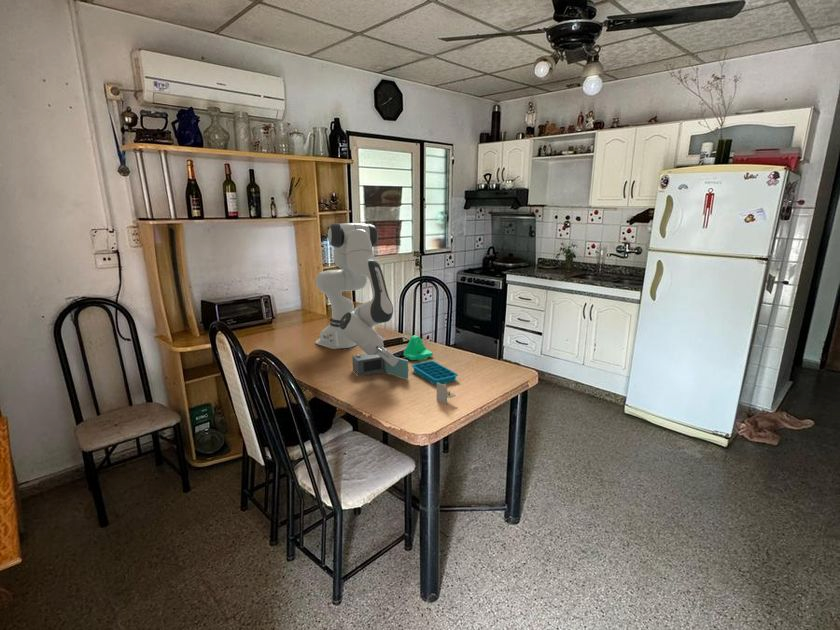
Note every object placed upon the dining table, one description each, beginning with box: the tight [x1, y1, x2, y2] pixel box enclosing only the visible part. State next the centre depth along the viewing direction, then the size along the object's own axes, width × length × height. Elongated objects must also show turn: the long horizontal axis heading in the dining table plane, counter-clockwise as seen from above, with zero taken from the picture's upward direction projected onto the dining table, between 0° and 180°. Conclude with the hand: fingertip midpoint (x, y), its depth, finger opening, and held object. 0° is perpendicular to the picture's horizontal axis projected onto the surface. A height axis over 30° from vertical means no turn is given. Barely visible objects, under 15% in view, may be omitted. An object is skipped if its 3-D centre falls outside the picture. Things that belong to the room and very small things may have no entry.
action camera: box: [351, 353, 384, 377], centre depth 190 cm, size 15×7×8 cm, turn 117°
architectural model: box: [436, 382, 457, 406], centre depth 161 cm, size 3×7×7 cm, turn 39°
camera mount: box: [403, 334, 433, 362], centre depth 207 cm, size 12×8×10 cm, turn 123°
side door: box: [383, 356, 409, 380], centre depth 184 cm, size 13×1×8 cm, turn 51°
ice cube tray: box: [411, 360, 458, 386], centre depth 186 cm, size 12×20×3 cm, turn 31°
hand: (394, 363), depth 182 cm, fingers closed
